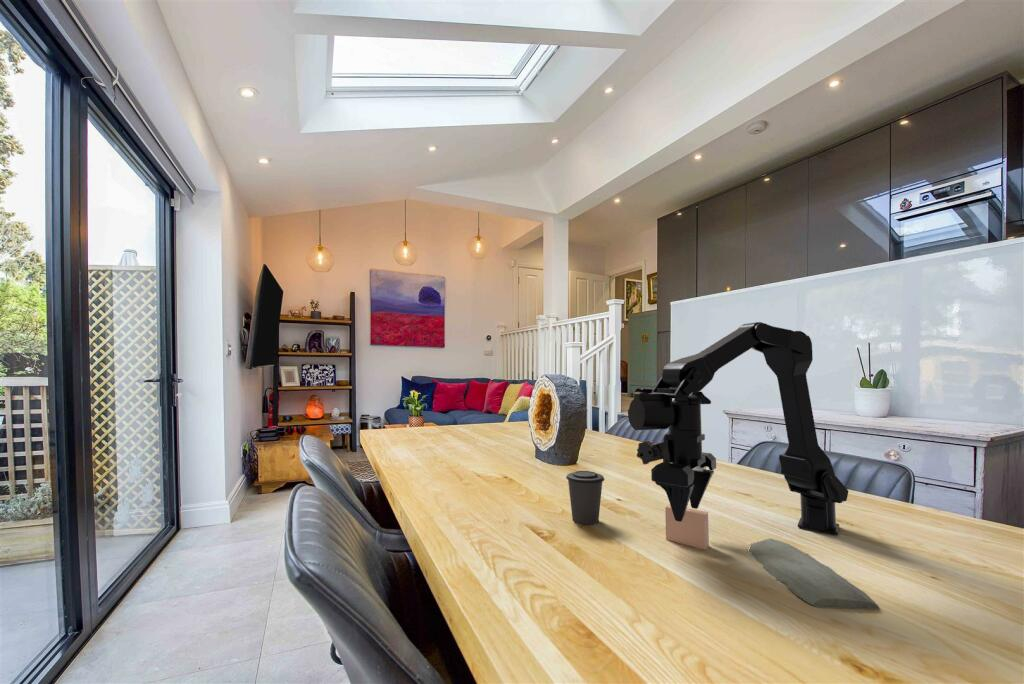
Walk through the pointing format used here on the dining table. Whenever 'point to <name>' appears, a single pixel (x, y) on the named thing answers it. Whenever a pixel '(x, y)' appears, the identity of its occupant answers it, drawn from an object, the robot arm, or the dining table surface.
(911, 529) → the dining table surface
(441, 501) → the dining table surface
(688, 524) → the block
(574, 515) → the coffee cup
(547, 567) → the dining table surface
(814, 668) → the dining table surface
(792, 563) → the stone slab
